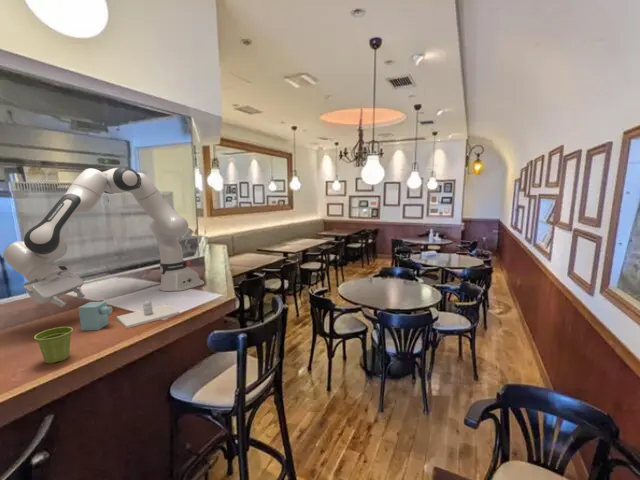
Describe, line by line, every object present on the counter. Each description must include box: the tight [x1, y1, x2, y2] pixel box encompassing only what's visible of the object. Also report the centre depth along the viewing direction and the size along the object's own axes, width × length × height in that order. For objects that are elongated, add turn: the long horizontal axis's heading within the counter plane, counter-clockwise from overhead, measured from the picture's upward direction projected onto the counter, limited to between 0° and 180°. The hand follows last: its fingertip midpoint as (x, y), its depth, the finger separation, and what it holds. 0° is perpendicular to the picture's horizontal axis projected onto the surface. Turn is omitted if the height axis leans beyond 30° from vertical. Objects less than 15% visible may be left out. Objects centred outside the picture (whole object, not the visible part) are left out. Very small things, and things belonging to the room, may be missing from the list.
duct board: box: [116, 300, 181, 329], centre depth 138 cm, size 20×14×7 cm
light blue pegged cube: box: [78, 301, 113, 331], centre depth 128 cm, size 6×10×9 cm
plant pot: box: [33, 326, 74, 364], centre depth 103 cm, size 9×9×9 cm
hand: (73, 301), depth 127 cm, fingers open, 8 cm apart
